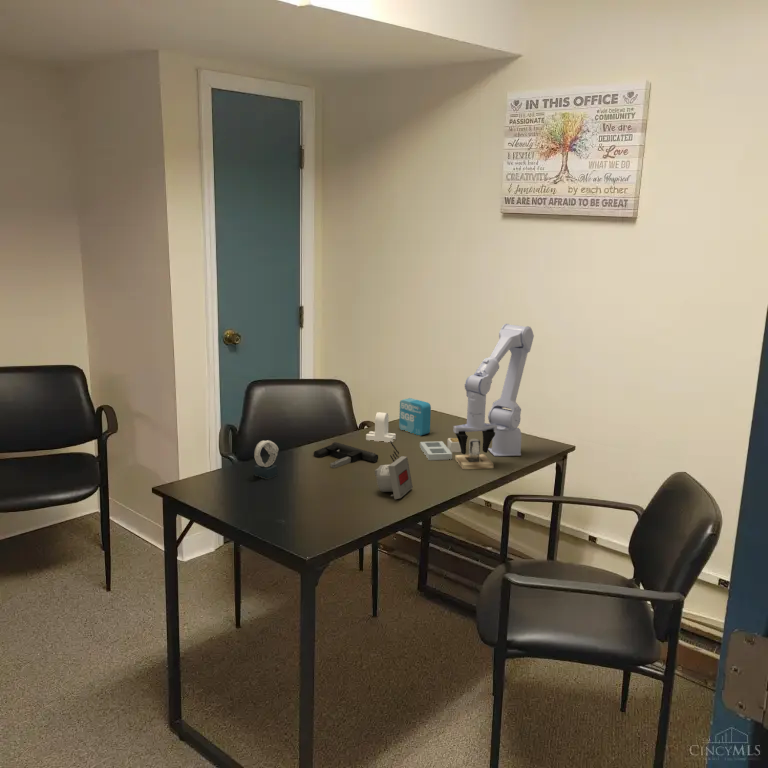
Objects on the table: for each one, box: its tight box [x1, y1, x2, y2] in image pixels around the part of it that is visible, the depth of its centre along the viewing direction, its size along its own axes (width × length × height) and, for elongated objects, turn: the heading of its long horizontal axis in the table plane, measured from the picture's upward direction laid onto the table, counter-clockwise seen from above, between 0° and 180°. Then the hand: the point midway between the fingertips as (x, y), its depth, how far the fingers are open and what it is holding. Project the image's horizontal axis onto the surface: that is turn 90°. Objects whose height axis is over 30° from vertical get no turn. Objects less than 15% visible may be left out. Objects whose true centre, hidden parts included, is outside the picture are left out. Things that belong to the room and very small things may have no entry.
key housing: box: [446, 437, 461, 453], centre depth 247 cm, size 5×5×4 cm
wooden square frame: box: [454, 453, 494, 470], centre depth 233 cm, size 10×10×2 cm
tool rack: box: [419, 440, 453, 461], centre depth 243 cm, size 8×14×2 cm, turn 9°
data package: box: [398, 397, 432, 437], centre depth 267 cm, size 12×4×12 cm, turn 44°
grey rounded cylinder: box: [468, 438, 481, 462], centre depth 233 cm, size 4×4×8 cm
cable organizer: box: [365, 411, 397, 443], centre depth 257 cm, size 5×10×10 cm, turn 73°
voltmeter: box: [374, 441, 414, 500], centre depth 213 cm, size 27×11×10 cm, turn 11°
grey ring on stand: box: [253, 439, 279, 479], centre depth 218 cm, size 6×8×11 cm
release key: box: [450, 437, 459, 442], centre depth 247 cm, size 3×3×3 cm
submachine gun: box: [313, 441, 379, 469], centre depth 235 cm, size 3×20×16 cm
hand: (474, 452), depth 233 cm, fingers open, 7 cm apart
